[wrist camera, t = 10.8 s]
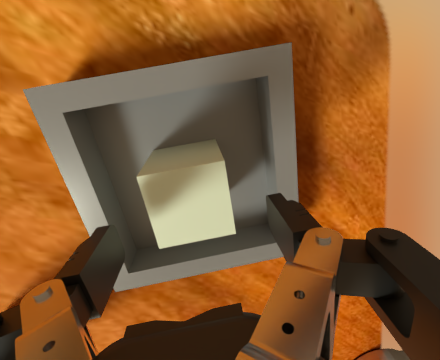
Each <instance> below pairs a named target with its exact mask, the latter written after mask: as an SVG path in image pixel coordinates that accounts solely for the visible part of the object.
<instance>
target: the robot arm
mask: <svg viewBox="0 0 440 360" xmlns="http://www.w3.org/2000/svg"><path fill="white" fill-rule="evenodd" d="M266 205H267V215H268V224H269V228H270V231H271V233H272V235H273V237H274V239H275V241H276V243H277V245H278V246H279V248H280V250H281V252H282V254H283V256H284V258H285V260H286V263H285V265H284V267H283V270H282V272H281V274H280V276H279V278H278V280H277V283H276V285H275V287H274V289H273V291H272V293H271V296H270V298H269V300H268V302H267V304H266V306H265V309H264V311H263V313H262V315H258V314H254V313H248V312H243V311H242V306H241V303H238V304H233V305H228V306H223V307H218V308H213V309H211V310H209V311H206V312H204V313H202V314H200V315H198V316H195V317H193V318H191V319H189V320H186V321H158V320H155V321H150V322H145V323H140V324H135V325H130V326H127V328H126V331H125V334H124V338H121V339H119V340H118V341H116V342H114V343H112V344H111V345H110V346H108V347H107V348H105V349H104V350H103V351H101V352H100V353H98V351H97V348H96V346H95V343H94V341H93V339H92V336H91V334H90V331H89V329H88V327H87V326H86V324H87V322H88V320H89V319H94V318H99V317H101V316H102V313H103V311H104V308H105V306H106V304H107V301H108V299H109V296H110V294H111V292H112V289H113V287H114V285H115V282H116V280H117V277H118V275H119V273H120V270H121V268H122V265H123V263H124V260H125V250H124V247H123V245H122V242H121V239H120V237H119V234H118V232H117V229H116V227H115V226H114V225H107V226H102V227H97V228H96V229H95V231H94V232H93V234H92V235H91V236H90V238H89V239H87V240H86V241H84V242H83V243H82V244H81V245H79V246H78V248H77V249H76V250H75V252H74V253H73V255H72V256H71V257H70V258H69V261H67V262H66V264H65V265H64V266H63V268H62V269H61V270H60V272H59V273H58V274H57V276H56V277H55V278H54V279H53V280H49V281H46V282H44V283H42V284H40V285H38V286H36V287H35V288H33V289H32V290H31V291H29V292H28V293H27V294H26V295H25V296H24V298H23V299H22V300H21V303H20V305H18V306H16V307H14V308H11V309H9V310H6V311H4V312H1V313H0V360H332V354H333V344H334V335H335V328H336V322H337V316H338V310H339V304H340V298H341V295H349V296H361V297H365V299H366V300H367V301H368V303H369V304H370V306H371V307H372V308H373V310H374V311H375V312H376V314H377V315H378V316H379V318H380V319H381V321H382V322H383V323H384V325H385V326H386V327H387V329H388V330H389V331H390V333H391V334H392V336H393V337H394V338H395V340H396V341H397V342H398V344H399V345H400V346H401V347H402V349H403V351H398V350H394V349H379V350H375V351H372V352H369V353H367V354H365V355H363V356H361V357H359V358H358V359H356V360H440V260H439V259H438V258H437V257H435V256H434V255H433V254H431V253H430V252H429V251H427V250H426V249H425V248H423V247H422V246H421V245H419V244H418V243H417V242H415V241H414V240H413V239H411V238H410V237H408V236H407V235H406V234H404V233H402V232H400V231H397V230H394V229H389V228H374V229H371V230H369V231H368V232H367V234H366V240H360V239H343V237H342V236H341V235H340V234H339V233H338V232H337V231H335V230H333V229H329V228H323V227H322V226H321V225H320V224H319V223H318V222H317V221H316V220H315V219H314V218H313V217H312V215H311V214H309V212H308V211H307V210H305V208H304V207H303V206H302V205H301V204H300V203H298V202H296V201H294V200H288V201H287V200H286V199H285V197H284V196H283V195H282V194H281V193H276V194H271V195H266Z"/></svg>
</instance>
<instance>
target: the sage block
mask: <svg viewBox="0 0 440 360" xmlns="http://www.w3.org/2000/svg"><path fill="white" fill-rule="evenodd" d="M137 181H138V184H139V187H140V190H141V193H142V196H143V199H144V203H145V206H146V209H147V212H148V215H149V218H150V222H151V225H152V228H153V231H154V234H155V237H156V240H157V244H158V247H159V249H162V248H167V247H172V246H177V245H182V244H187V243H192V242H197V241H202V240H207V239H212V238H217V237H222V236H227V235H232V234H236V230H235V224H234V217H233V211H232V205H231V198H230V192H229V186H228V179H227V173H226V167H225V161H224V158H223V156H222V154H221V151H220V149H219V147H218V144H217V142H216V140H215V139H213V140H207V141H202V142H196V143H191V144H185V145H180V146H174V147H169V148H163V149H158V150H153V151H152V153H151V155H150V156H149V158H148V159H147V161H146V162H145V164H144V166H143V167H142V169H141V170H140V172H139V174H138V175H137Z"/></svg>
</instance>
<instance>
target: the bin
mask: <svg viewBox="0 0 440 360" xmlns="http://www.w3.org/2000/svg"><path fill="white" fill-rule="evenodd" d="M23 91H24V93H25V96H26V98H27V100H28V102H29V104H30V106H31V109H32V111H33V113H34V115H35V117H36V120H37V122H38V124H39V126H40V128H41V131H42V133H43V135H44V137H45V139H46V141H47V144H48V146H49V148H50V150H51V152H52V155H53V157H54V159H55V161H56V163H57V166H58V168H59V170H60V172H61V174H62V176H63V179H64V181H65V183H66V185H67V187H68V190H69V192H70V194H71V196H72V198H73V201H74V203H75V205H76V207H77V209H78V212H79V214H80V216H81V218H82V220H83V222H84V225H85V227H86V229H87V231H88V233H89V236H91V235H92V234H93V232H94V231H95V229H96V228H97V227H102V226H107V225H114V226H115V227H116V229H117V232H118V234H119V237H120V239H121V242H122V245H123V247H124V250H125V260H124V263H123V265H122V268H121V270H120V273H119V275H118V277H117V280H116V282H115V285H114V287H113V288H114V290H115V292H118V291H123V290H128V289H133V288H137V287H142V286H147V285H151V284H156V283H161V282H166V281H170V280H175V279H180V278H185V277H189V276H194V275H199V274H204V273H208V272H213V271H218V270H223V269H227V268H232V267H237V266H242V265H246V264H251V263H256V262H261V261H265V260H270V259H275V258H279V257H284V256H283V254H282V252H281V250H280V248H279V246H278V245H277V243H276V241H275V239H274V237H273V235H272V233H271V231H270V228H269V224H268V215H267V205H266V195H271V194H276V193H281V194H282V195H283V196H284V197H285V199H286V200H287V201H288V200H294V201H296V202H298V203H299V201H298V178H297V155H296V131H295V108H294V85H293V62H292V42H291V43H285V44H279V45H273V46H268V47H262V48H256V49H251V50H245V51H239V52H234V53H228V54H222V55H217V56H211V57H205V58H200V59H194V60H188V61H183V62H177V63H171V64H166V65H160V66H154V67H149V68H143V69H137V70H132V71H126V72H120V73H114V74H109V75H103V76H97V77H92V78H86V79H80V80H75V81H69V82H63V83H58V84H52V85H46V86H41V87H35V88H29V89H24V90H23ZM213 139H215V140H216V142H217V144H218V147H219V149H220V151H221V154H222V156H223V158H224V161H225V167H226V173H227V179H228V186H229V192H230V198H231V205H232V211H233V217H234V224H235V230H236V234H232V235H227V236H222V237H217V238H212V239H207V240H202V241H197V242H192V243H187V244H182V245H177V246H172V247H167V248H162V249H159V247H158V244H157V240H156V237H155V234H154V231H153V228H152V225H151V222H150V218H149V215H148V212H147V209H146V206H145V203H144V199H143V196H142V193H141V190H140V187H139V184H138V181H137V175H138V174H139V172H140V170H141V169H142V167H143V166H144V164H145V162H146V161H147V159H148V158H149V156H150V155H151V153H152V151H153V150H158V149H163V148H169V147H174V146H180V145H185V144H191V143H196V142H202V141H207V140H213Z"/></svg>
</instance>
